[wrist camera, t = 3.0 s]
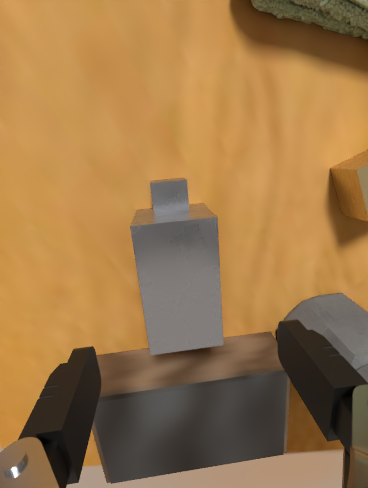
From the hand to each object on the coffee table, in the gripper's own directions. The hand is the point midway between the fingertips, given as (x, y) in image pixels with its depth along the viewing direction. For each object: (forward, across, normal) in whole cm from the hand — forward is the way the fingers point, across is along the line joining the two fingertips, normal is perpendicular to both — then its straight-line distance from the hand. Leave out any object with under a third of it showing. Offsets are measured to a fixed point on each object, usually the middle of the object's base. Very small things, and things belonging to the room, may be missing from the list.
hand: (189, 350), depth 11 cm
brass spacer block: (+10, -15, -5) cm, 19 cm away
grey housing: (+10, 0, 0) cm, 10 cm away
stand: (+10, 0, +13) cm, 17 cm away
